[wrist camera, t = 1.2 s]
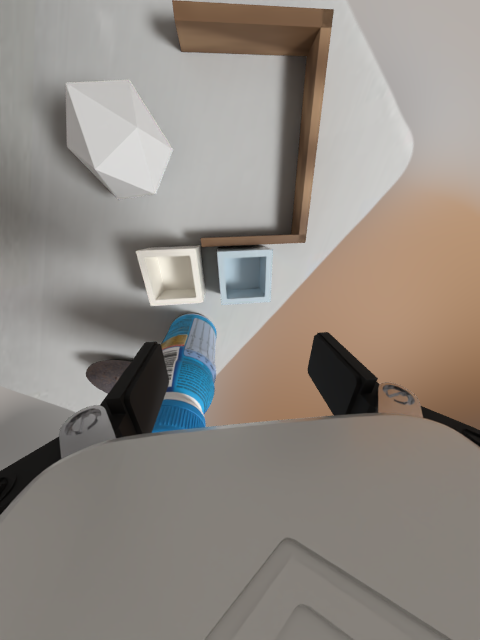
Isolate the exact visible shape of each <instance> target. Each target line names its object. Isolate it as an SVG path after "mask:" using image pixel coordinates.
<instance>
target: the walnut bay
mask: <svg viewBox="0 0 480 640" xmlns="http://www.w3.org/2000/svg"><path fill="white" fill-rule="evenodd" d="M172 2H173V11H174V19H175V24H176V29H177V33H178V38H179V42H180V47H181V52H204V53H231V54H259V55H286V56H307V58H306V70H305V81H304V93H303V104H302V116H301V127H300V139H299V150H298V161H297V173H296V184H295V196H294V207H293V219H292V230H291V234H288V235H262V236H235V237H209V238H201V246H202V247H211V246H235V245H259V244H284V243H305V241H306V233H307V224H308V216H309V208H310V200H311V192H312V183H313V175H314V167H315V159H316V151H317V142H318V134H319V126H320V118H321V109H322V101H323V93H324V85H325V77H326V68H327V60H328V52H329V44H330V36H331V27H332V19H333V11H334V10H333V9H315V8H298V7H280V6H262V5H245V4H227V3H209V2H192V1H174V0H172Z"/></svg>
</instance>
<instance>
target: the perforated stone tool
mask: <svg viewBox="0 0 480 640" xmlns="http://www.w3.org/2000/svg"><path fill="white" fill-rule="evenodd" d="M130 363H131V362H130V361H122V360H105V361H100V362H96V363H94V364H92V365H91V366H89V368H88V369H87V372H86V377H87V378H88V380H89V381H90V382H91V383H92V384H93V385H94V386H96V387H97V388H99V389H100V390H103V391H104V392H106V393H109V392H110V391H111V389H112V388H113V386H114V385H115V384H116V382H117V381H118V379H119V378H120V377H121V375H122V374H123V372H124V371H125V370H126V368H127V367H128V366H129V365H130Z"/></svg>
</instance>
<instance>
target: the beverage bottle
mask: <svg viewBox="0 0 480 640" xmlns="http://www.w3.org/2000/svg"><path fill="white" fill-rule="evenodd" d="M215 343H216V329H215V327H214V325H213V323H212V322H211V321H210V320H209V319H208V318H206V317H204V316H202V315H199V314H185V315H182V316H180V317H178V318H177V319H176V320H174V322H173V323H172V324H171V326H170V328H169V331H168V333H167V335H166V337H165V339H164V340H163V342H162V344H161V347H162V351H163V356H164V360H165V364H166V368H167V372H168V376H169V385H168V388H167V391H166V394H165V397H164V399H163V402H162V405H161V408H160V411H159V413H158V416H157V419H156V422H155V425H154V428H153V430H152V433H155V432H164V431H173V430H182V429H192V428H203V427H205V418H204V414H205V412H206V411H207V409H208V408H209V406H210V404H211V402H212V399H213V396H214V389H215V388H214V382H215V379H216V366H215Z"/></svg>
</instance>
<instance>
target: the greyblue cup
mask: <svg viewBox="0 0 480 640" xmlns="http://www.w3.org/2000/svg"><path fill="white" fill-rule="evenodd" d="M217 258H218V270H219V282H220V294H221V305H228V304H244V303H259V302H270V300H271V280H272V259H273V249H270V248H267V247H265V246H262V247H238V248H218V249H217Z"/></svg>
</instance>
